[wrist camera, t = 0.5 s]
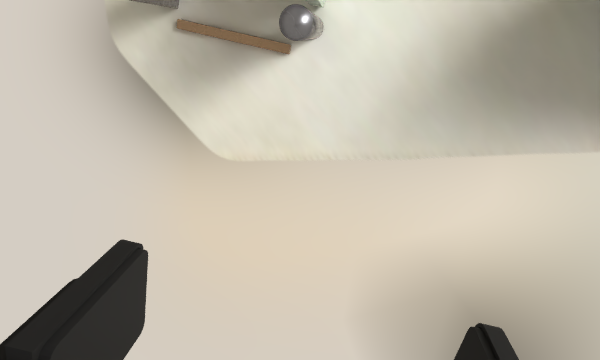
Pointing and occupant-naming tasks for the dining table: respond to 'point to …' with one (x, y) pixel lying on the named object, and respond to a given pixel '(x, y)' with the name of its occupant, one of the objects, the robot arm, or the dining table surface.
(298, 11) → the door frame
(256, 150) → the dining table surface
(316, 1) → the door
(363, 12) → the dining table surface
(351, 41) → the dining table surface
